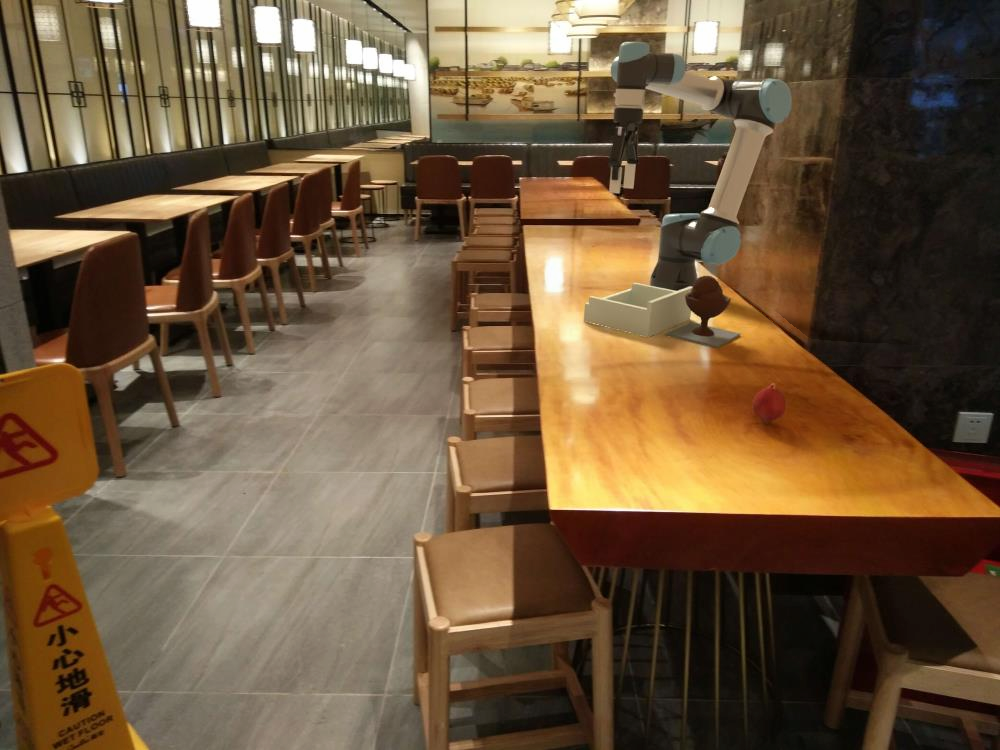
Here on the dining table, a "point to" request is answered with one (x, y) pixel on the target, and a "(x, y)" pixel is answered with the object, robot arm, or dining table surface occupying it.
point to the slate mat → (713, 341)
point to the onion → (769, 404)
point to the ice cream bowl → (706, 302)
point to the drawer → (639, 309)
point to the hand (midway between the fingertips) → (621, 190)
